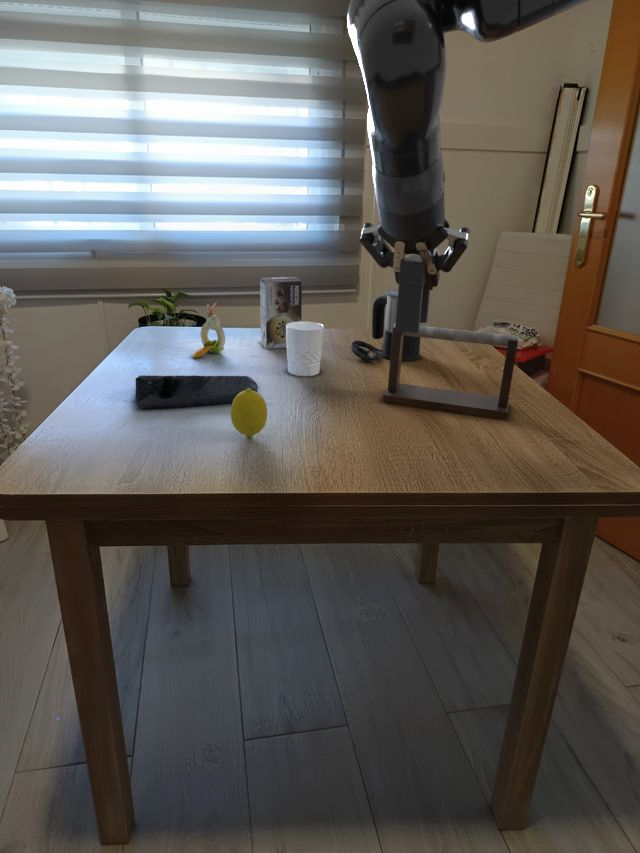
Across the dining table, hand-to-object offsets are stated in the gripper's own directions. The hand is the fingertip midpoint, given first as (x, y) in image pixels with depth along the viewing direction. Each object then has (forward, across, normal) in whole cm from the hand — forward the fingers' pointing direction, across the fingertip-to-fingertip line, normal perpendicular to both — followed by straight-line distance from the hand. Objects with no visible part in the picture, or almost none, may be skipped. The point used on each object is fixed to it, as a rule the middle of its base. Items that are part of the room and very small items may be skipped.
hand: (418, 283), depth 78 cm
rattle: (+41, -53, +6) cm, 68 cm away
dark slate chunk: (+23, -40, -12) cm, 48 cm away
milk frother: (+52, -14, +17) cm, 57 cm away
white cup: (+39, -28, +4) cm, 48 cm away
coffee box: (+52, -41, +17) cm, 68 cm away
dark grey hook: (+2, 0, -5) cm, 6 cm away
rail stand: (+33, +4, -2) cm, 33 cm away
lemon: (+13, -23, -22) cm, 34 cm away
